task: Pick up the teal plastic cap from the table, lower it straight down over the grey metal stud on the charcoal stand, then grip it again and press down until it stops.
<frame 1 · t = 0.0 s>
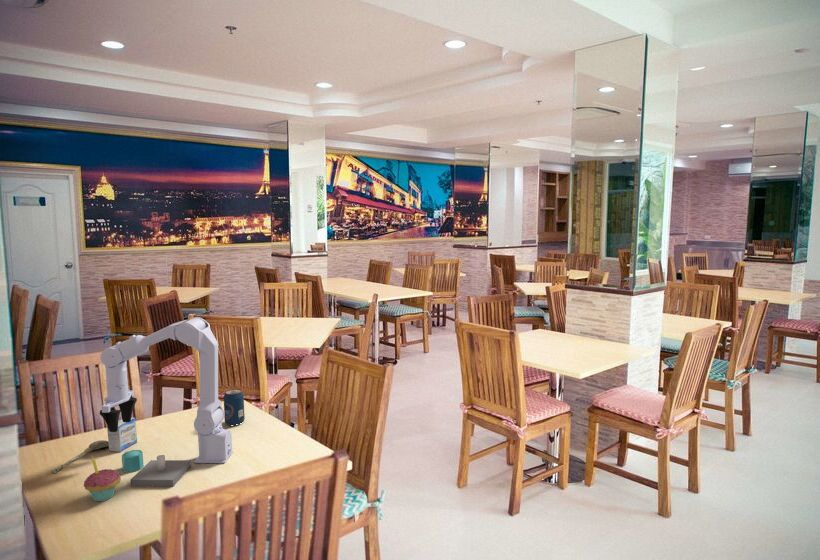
hand: (120, 426, 169), 10 cm above the table, tool pointing down, fingers open, 7 cm apart
soda can: (234, 423, 198), on the table
cupcake: (103, 497, 147), on the table
cap: (133, 468, 163), on the table
stud stand: (161, 476, 158), on the table
soupspoon: (83, 458, 171), on the table
medicine box: (123, 447, 178), on the table
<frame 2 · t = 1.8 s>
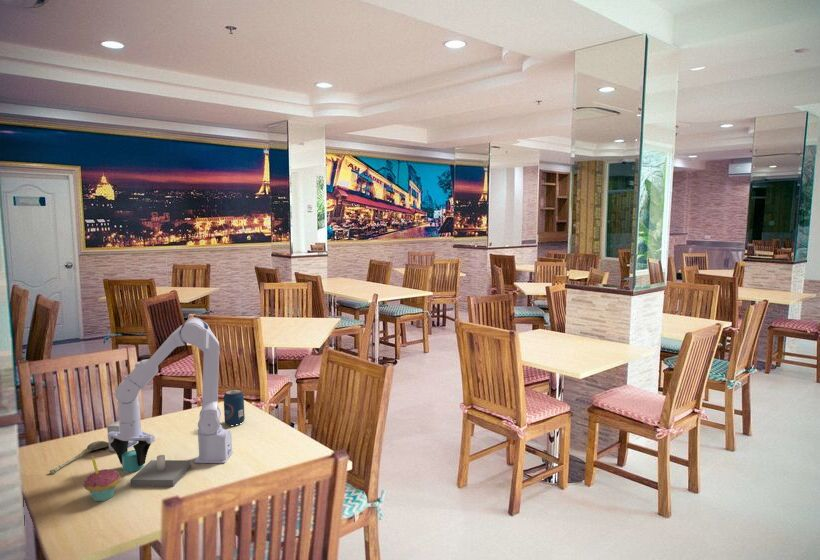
hand: (132, 463, 163), 1 cm above the table, tool pointing down, fingers closed on cap, 5 cm apart
cap: (133, 468, 163), on the table, touching gripper
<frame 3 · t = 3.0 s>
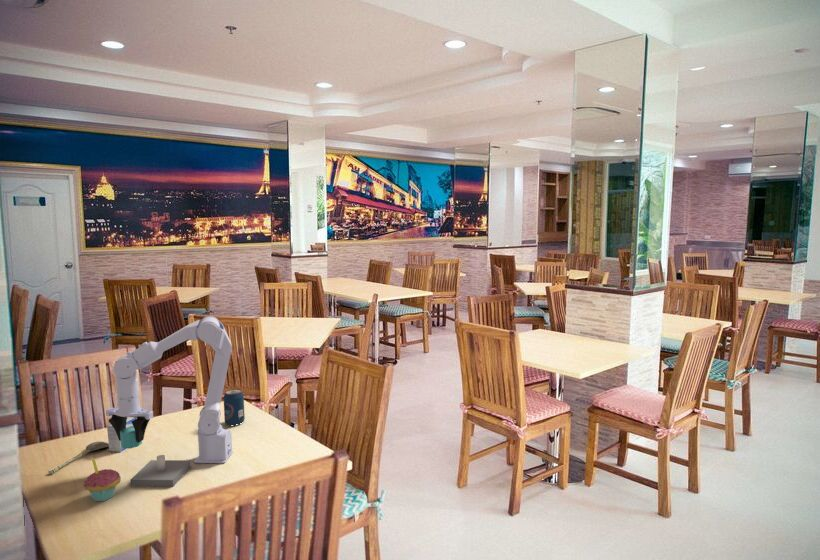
hand: (131, 440, 162), 9 cm above the table, tool pointing down, fingers closed on cap, 5 cm apart
cap: (131, 444, 162), point 7 cm above the table, touching gripper
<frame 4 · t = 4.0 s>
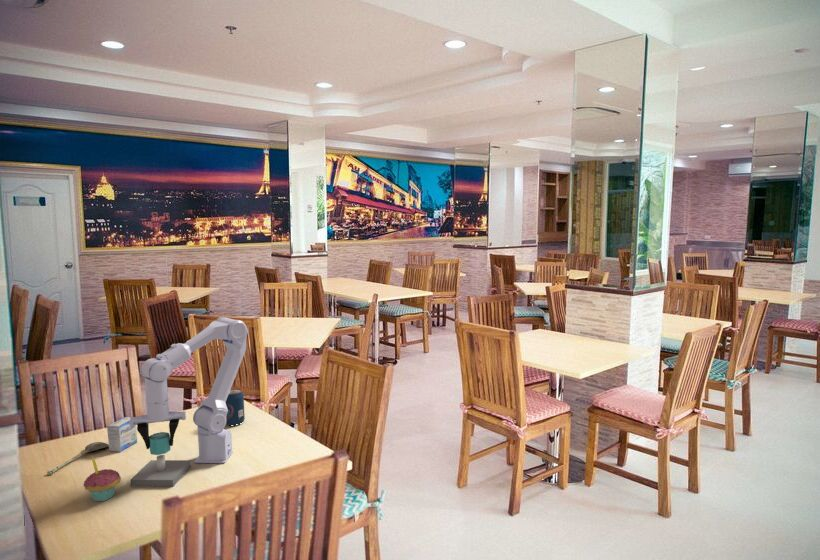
hand: (160, 446, 157), 9 cm above the table, tool pointing down, fingers closed on cap, 5 cm apart
cap: (160, 450, 157), point 8 cm above the table, touching gripper
when the fingers open (5 cm above the table, at t = 5.3 s): cap stays where it is, point 4 cm above the table.
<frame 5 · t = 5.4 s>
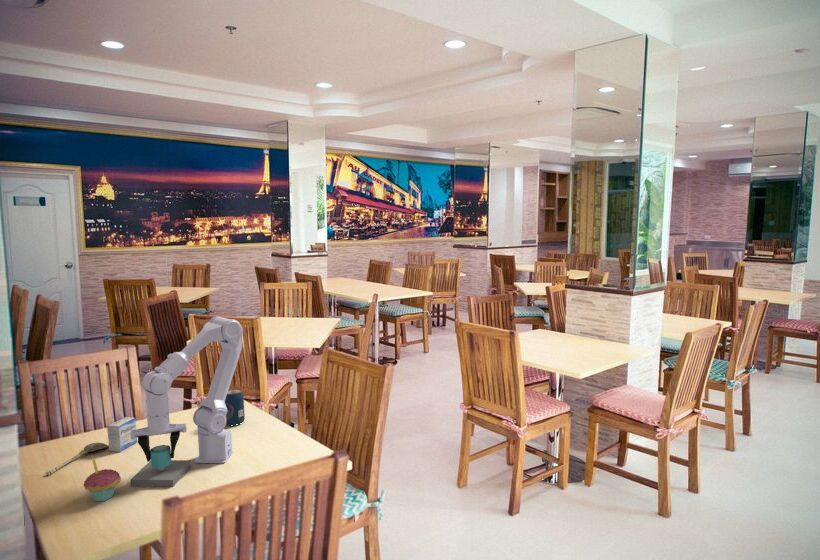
hand: (160, 458, 157), 5 cm above the table, tool pointing down, fingers open, 6 cm apart
cap: (161, 463, 157), point 4 cm above the table
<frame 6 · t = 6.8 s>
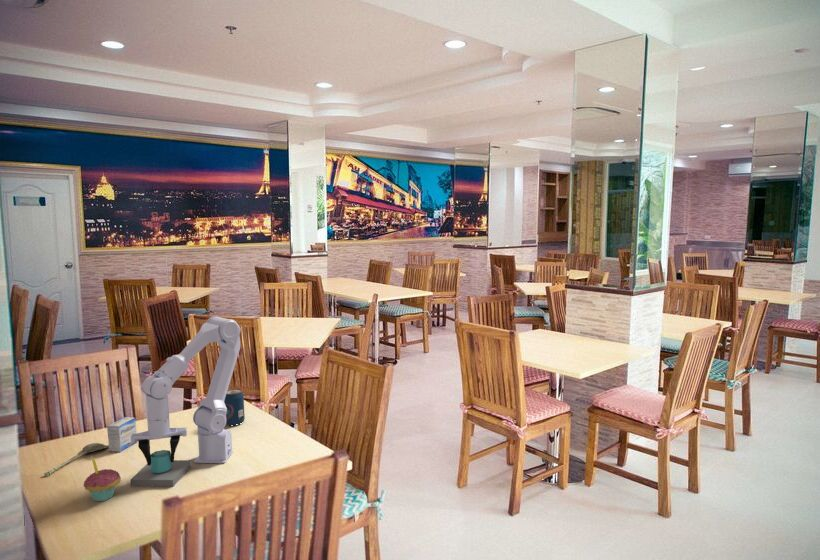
hand: (161, 462, 157), 4 cm above the table, tool pointing down, fingers closed on cap, 5 cm apart
cap: (161, 468, 157), point 2 cm above the table, touching gripper, stud stand
when the fingers open (4 cm above the table, at t = 8.1 s): cap stays where it is, resting on stud stand.
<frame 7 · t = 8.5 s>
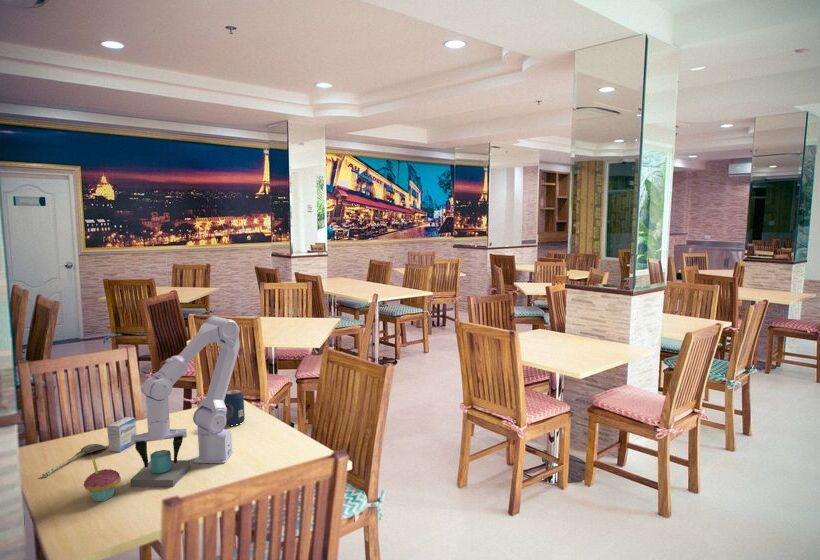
hand: (161, 463, 157), 4 cm above the table, tool pointing down, fingers open, 7 cm apart
cap: (161, 468, 158), point 2 cm above the table, touching stud stand
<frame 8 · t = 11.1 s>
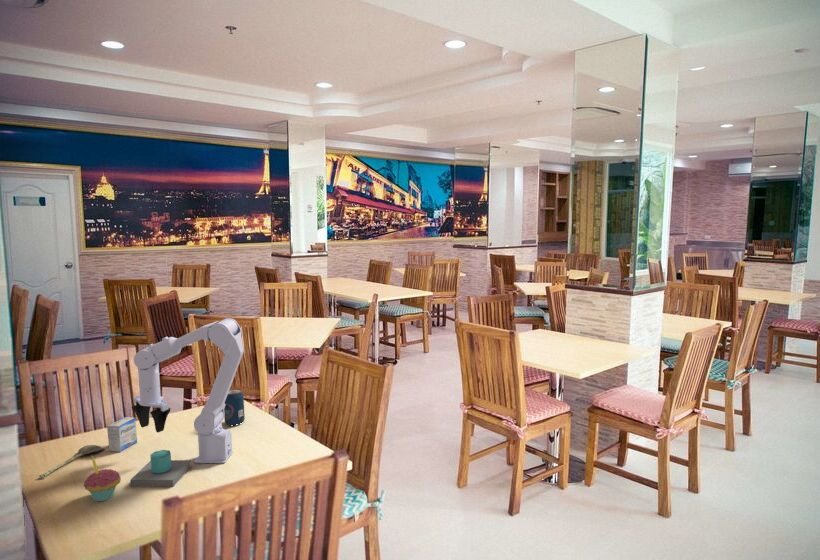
hand: (152, 428, 169), 9 cm above the table, tool pointing down, fingers open, 7 cm apart
at the end: cap 0.1 cm off-centre on the stud stand, point 2.3 cm above the stud stand's base; cap tilted 0°; the gripper is holding nothing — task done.
